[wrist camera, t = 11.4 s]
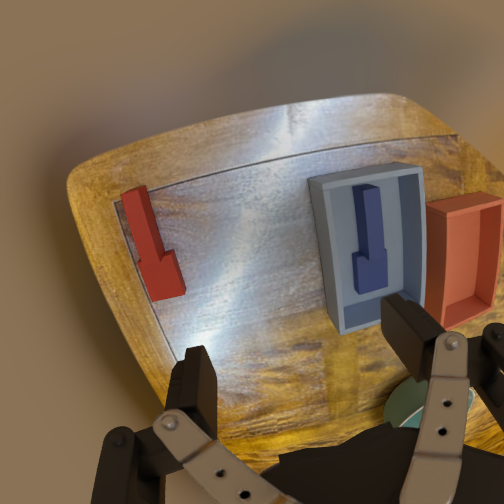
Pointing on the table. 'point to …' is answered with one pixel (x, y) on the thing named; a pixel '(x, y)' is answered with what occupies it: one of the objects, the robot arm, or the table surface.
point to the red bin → (462, 257)
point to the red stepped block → (152, 248)
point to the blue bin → (346, 242)
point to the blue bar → (369, 241)
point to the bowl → (410, 403)
